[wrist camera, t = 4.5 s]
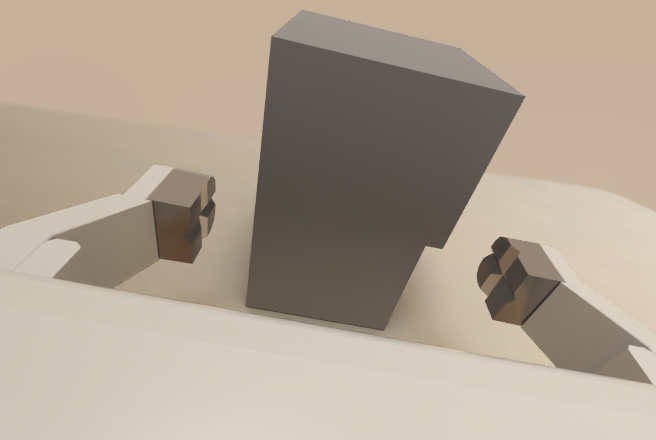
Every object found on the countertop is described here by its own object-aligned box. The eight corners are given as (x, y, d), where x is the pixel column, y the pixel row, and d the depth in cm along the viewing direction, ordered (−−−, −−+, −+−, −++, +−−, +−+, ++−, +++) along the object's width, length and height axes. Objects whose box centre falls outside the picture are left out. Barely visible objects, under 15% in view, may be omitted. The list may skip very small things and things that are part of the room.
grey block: (245, 305, 14) (271, 36, 8) (274, 214, 19) (302, 9, 13) (397, 332, 14) (525, 96, 9) (384, 236, 20) (459, 48, 14)
